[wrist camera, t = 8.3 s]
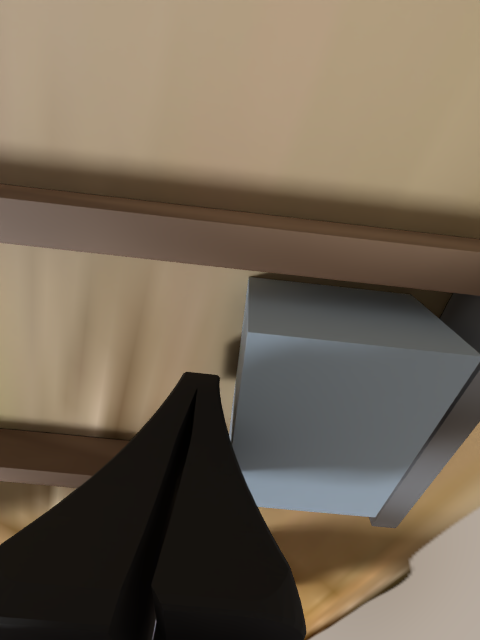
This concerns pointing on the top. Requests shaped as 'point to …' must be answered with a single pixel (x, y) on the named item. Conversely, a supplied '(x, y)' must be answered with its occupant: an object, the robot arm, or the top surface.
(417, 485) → the bay
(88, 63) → the top surface
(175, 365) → the top surface
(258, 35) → the top surface
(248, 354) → the light blue rectangular block
